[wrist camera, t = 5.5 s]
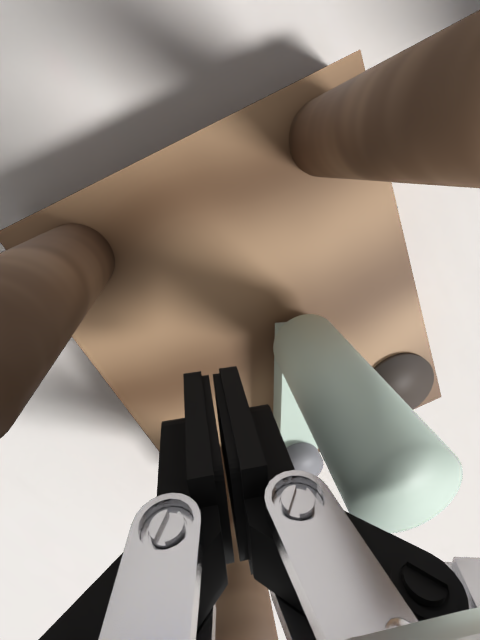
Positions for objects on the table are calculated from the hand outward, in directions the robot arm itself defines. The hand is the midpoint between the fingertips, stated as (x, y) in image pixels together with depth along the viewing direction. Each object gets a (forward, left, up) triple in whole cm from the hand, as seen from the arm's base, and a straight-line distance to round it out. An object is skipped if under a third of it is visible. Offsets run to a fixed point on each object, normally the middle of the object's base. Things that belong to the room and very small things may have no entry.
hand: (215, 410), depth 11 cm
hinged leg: (+4, +3, -5) cm, 7 cm away
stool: (+1, +2, -7) cm, 8 cm away
